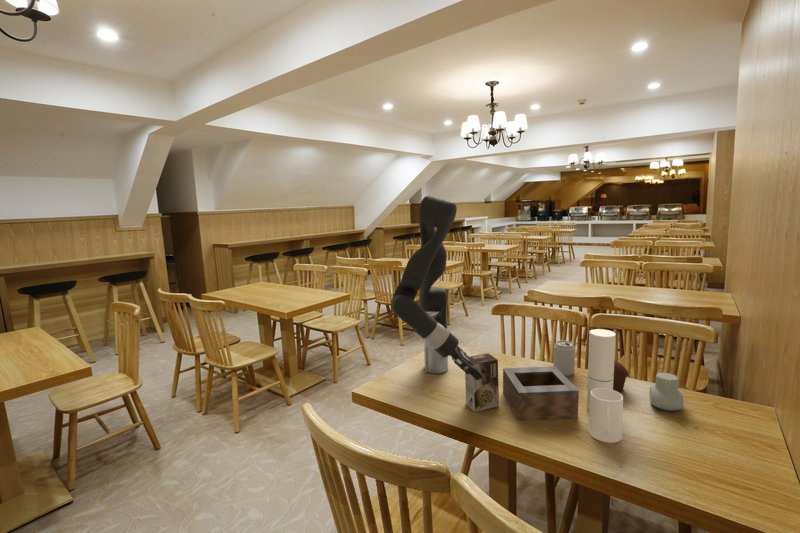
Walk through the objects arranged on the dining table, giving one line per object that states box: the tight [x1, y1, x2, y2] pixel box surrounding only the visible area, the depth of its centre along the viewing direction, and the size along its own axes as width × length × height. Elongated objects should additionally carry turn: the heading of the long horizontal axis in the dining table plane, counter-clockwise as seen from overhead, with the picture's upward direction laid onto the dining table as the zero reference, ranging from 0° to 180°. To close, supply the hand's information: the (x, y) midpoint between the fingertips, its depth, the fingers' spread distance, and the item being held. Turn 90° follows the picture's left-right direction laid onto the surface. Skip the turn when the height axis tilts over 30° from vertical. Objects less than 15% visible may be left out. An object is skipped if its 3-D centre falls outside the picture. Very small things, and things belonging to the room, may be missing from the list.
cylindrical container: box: [586, 328, 616, 412], centre depth 124 cm, size 7×7×25 cm
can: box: [552, 340, 576, 377], centre depth 152 cm, size 8×8×12 cm
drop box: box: [502, 365, 580, 422], centre depth 129 cm, size 18×18×9 cm
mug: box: [587, 388, 624, 444], centre depth 110 cm, size 12×8×12 cm
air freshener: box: [649, 372, 685, 412], centre depth 125 cm, size 11×8×10 cm
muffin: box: [613, 359, 630, 394], centre depth 138 cm, size 12×11×10 cm
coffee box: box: [464, 353, 500, 412], centre depth 130 cm, size 9×6×16 cm
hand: (477, 372), depth 129 cm, fingers closed on coffee box, 7 cm apart
